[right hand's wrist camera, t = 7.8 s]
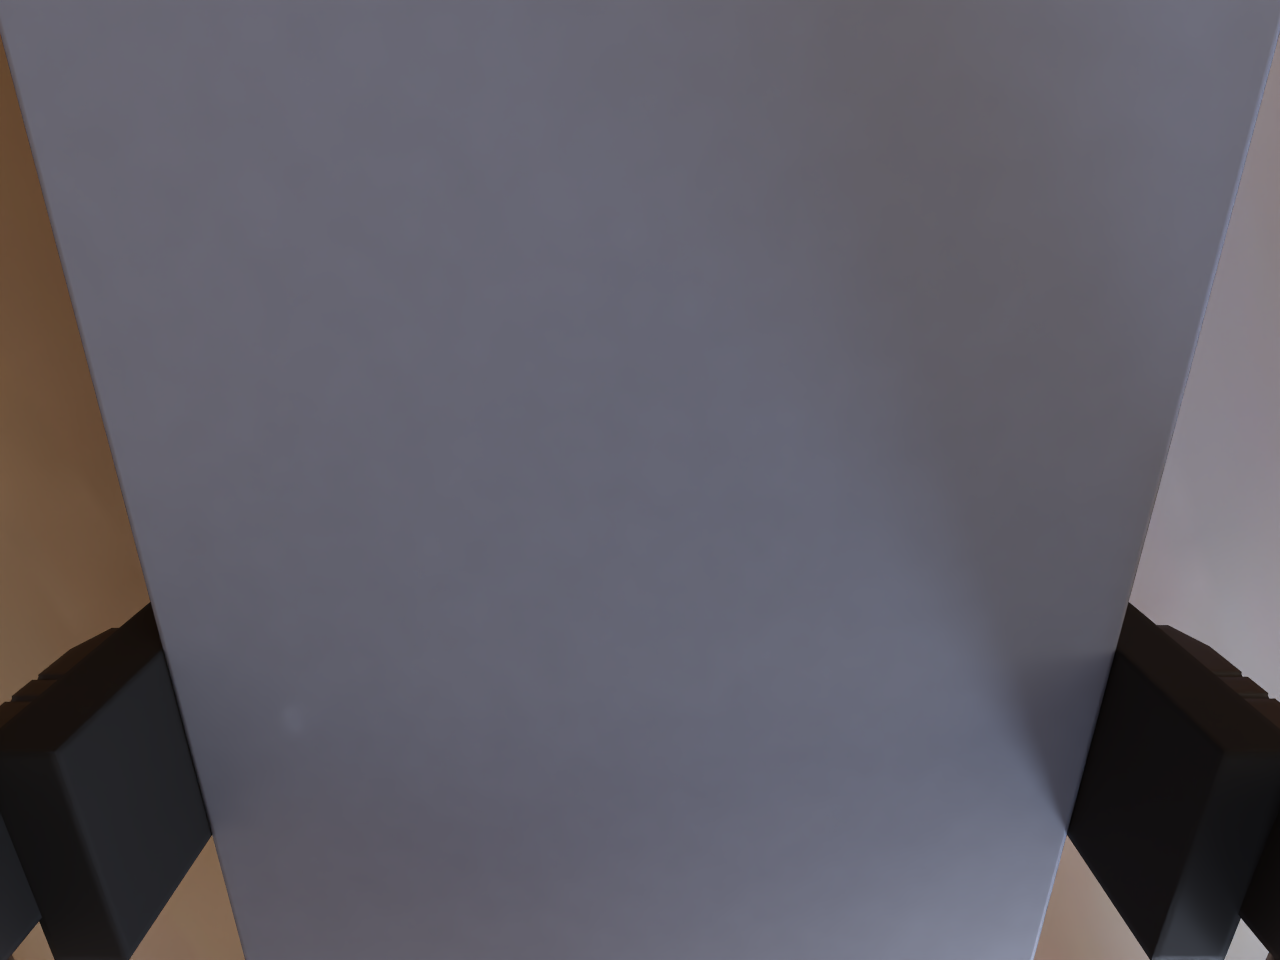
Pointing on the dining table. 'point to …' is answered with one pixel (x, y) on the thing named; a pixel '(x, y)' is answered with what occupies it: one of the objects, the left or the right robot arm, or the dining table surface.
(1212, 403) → the dining table surface
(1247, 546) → the dining table surface
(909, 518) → the grey rectangular box
